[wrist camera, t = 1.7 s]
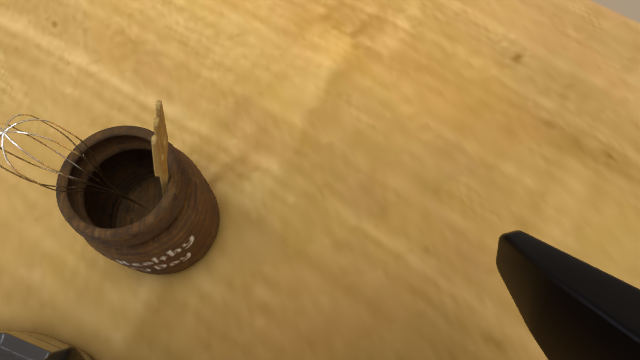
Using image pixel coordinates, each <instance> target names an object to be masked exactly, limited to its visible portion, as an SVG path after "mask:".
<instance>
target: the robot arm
mask: <svg viewBox="0 0 640 360" xmlns="http://www.w3.org/2000/svg"><path fill="white" fill-rule="evenodd" d="M496 265H497V268H498V271H499V273H500V275H501V277H502V279H503V281H504V283H505V285H506V287H507V289H508V290H509V292H510V294H511V296H512V298H513V300H514V302H515V304H516V306H517V308H518V310H519V312H520V314H521V315H522V317H523V319H524V321H525V323H526V325H527V327H528V329H529V330H530V332H531V334H532V335H533V337H534V339H535V340H536V342H537V343H538V345H539V346H540V348H541V349H542V351H543V352H544V354H545V355H546V357H547V358H548V360H640V289H638V288H636V287H634V286H632V285H630V284H628V283H626V282H624V281H622V280H620V279H618V278H616V277H614V276H612V275H610V274H608V273H606V272H604V271H602V270H600V269H597V268H595V267H593V266H591V265H589V264H587V263H585V262H583V261H581V260H579V259H577V258H575V257H573V256H571V255H569V254H567V253H565V252H563V251H561V250H559V249H557V248H555V247H553V246H551V245H549V244H547V243H545V242H543V241H541V240H539V239H537V238H535V237H533V236H531V235H529V234H527V233H525V232H522V231H519V230H517V231H512V232H508V233H504V234H502V235H501V236H500V237H499V243H498V250H497V257H496ZM45 360H85V358H84V357H83V356H82V355H81V353H80V352H79V351H78V349H77V348H75V347H67V348H63V349H59V350H55V351H53V352H51V353H50V354H49V355H48V356H47V357H46V358H45Z"/></svg>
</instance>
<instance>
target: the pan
mask: <svg viewBox="0 0 640 360" xmlns="http://www.w3.org/2000/svg"><path fill="white" fill-rule="evenodd" d="M67 347H72V346H69V345H67V344H65V343H62V342H60V341H57V340H55V339H53V338H50V337H48V336H46V335H42V334H34V333H24V332H14V331H4V330H0V360H45V358H46V357H47V356H48V355H49V354H50V353H51V352H53V351H55V350H59V349H63V348H67ZM78 351H79V352H80V353H81V355H82V356H83V357H84V358H85V360H92V359H91V358H90V357H89V356H88V355H86V354H85V353H84V352H83V351H81V350H79V349H78Z"/></svg>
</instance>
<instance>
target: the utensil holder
mask: <svg viewBox="0 0 640 360" xmlns="http://www.w3.org/2000/svg"><path fill="white" fill-rule="evenodd" d="M20 115H28V116H32V117H34V118H36V119H28V120H24V121H20V122H18V123H16V124H14V125H12V126H11V125H9V124H8V123H9V122H10V121H11V120H12V119H13V118H14V117H16V116H20ZM31 120H40V121H42V122H44V121H47V122H50V123H52V124H54V125H56V126H58V127H60V128H62V127H61V126H59V125H57V124H55V123H53V122H51V121H48V120H43V119H39V118H37V117H35V116H33V115H30V114H18V115H15V116H13V117H12V118H11V119H10V120H9V121H8V122H7V123H0V124H5V128H4V130H3V129H2V128H1V125H0V129H1V130H2V132H0V133H2V134H1V135H0V137H1V136H2V148H1V147H0V149H2V150H3V153H4V156H5V158H6V160H7V162H8V163H9V165H10V166H11V167H12V168H13V170H14V171H16V172H17V173H18V174H19V175H21V176H23V177H21V176H19V175H17V174H15V173H13V172H11V171H9V170H7V169H6V168H4V167H2V166H1V165H0V167H1V168H3V169H5V170H6V171H8V172H10V173H12V174H14V175H16V176H18V177H21V178H23V179H25V180H27V181H30V182H33V183H36V184H39V185H41V186H43V187H45V188H48V189H51V190H54V191H56V198H57V203H58V206H59V209H60V211H61V213H62V215H63V217H64V218H65V220H66V221H67V222H68V223H69V224H70V226H71V227H72V228H73V229H74V230H75V231H76V232H77V233H79V234H80V235H81V236H83V237H84V239H85V240H86V241H87V242H88V243H89V244H90V245H91V246H92V247H93V248H94V249H95V250H96V251H98V252H99V253H101V254H102V255H104V256H106V257H107V258H109V259H111V260H113V261H115V262H118V263H120V264H122V265H124V266H127V267H129V268H132V269H134V270H137V271H140V272H144V273H149V274H169V273H174V272H178V271H181V270H183V269H185V268H187V267H189V266H191V265H192V264H194V263H195V262H197V261H198V260H199V259H200V258H201V257H202V256H203V255H204V254H205V253H206V252H207V251H208V249H209V248H210V246H211V245H212V243H213V241H214V239H215V237H216V234H217V230H218V226H219V209H218V204H217V201H216V198H215V196H214V193H213V191H212V190H211V188H210V186H209V184H208V183H207V181H206V180H205V178H204V177H203V175H202V174H201V172H200V171H199V169H198V168H197V167H196V165H195V164H194V163H193V162H192V161H191V160H190V159H189V158H188V157H187V156H186V155H185V154H184V153H183V152H181V151H180V150H178V149H176V148H175V147H174V146H173V145H172V144H170V143H169V142H168V136H167V130H166V124H165V118H164V112H163V107H162V101H161V100H157V101H156V117H155V118H154V132H153V131H151V130H148V129H145V128H142V127H137V126H116V127H111V128H107V129H104V130H101V131H99V132H97V133H95V134H93V135H91V136H89V137H87V138H86V139H85V140H83V141H82V140H81V139H80V138H78V137H77V136H76V135H74V134H73V133H71V132H69V131H68V130H66V129H64V128H62V129H63V130H65V131H67V132H69V133H70V134H72V135H73V136H75V137H76V138H78V139H79V140H80V141H81V143H79V144H78V145H77V146H76V145H75V144H74V142H73V141H72V140H71V139H69V138H68V137H67V136H66V135H65V134H64V133H62V132H61V131H59V130H58V129H56V128H55V127H53V126H51V125H50V124H48V123H46V122H44V123H45V124H47V125H49V126H51V127H52V128H54V129H56V130H57V131H59V132H60V133H61V134H63V135H64V136H65V137H67V138H68V139H69V140H70V141H71V142H72V143H73V144H74V145H75V146H76V147H75V148H74V149H73V150H71V149H69V148H68V147H66V146H64V145H62V144H60V143H58V142H56V141H54V140H52V139H49V138H47V137H44V136H40V135H37V134H32V133H27V132H23V131H21V130H19V129H17V128H15V127H13V126H15V125H17V124H19V123H22V122H25V121H31ZM7 125H8V126H10V127H9V128H7V129H6V127H7ZM11 127H13V128H14V129H16V130H18V131H7V130H9V129H10V128H11ZM19 131H20V132H19ZM6 133H24V134H26V135H27V136H29V137H31V138H33V139H35V138H34V137H32V136H30V135H28V134H31V135H35V136H39V137H42V138H45V139H48V140H51V141H53V142H55V143H57V144H59V145H61V146H63V147H65V148H67V149H69V150H70V151H71V153H70V154H69V155H68V157H67V158H66V157H64V156H63V155H61V154H60V153H58V152H57V151H55V150H54V149H52V148H50V147H49V146H47V145H46V144H44V143H42V142H41V141H39V140H37V139H35V140H36V141H38V142H40V143H42V144H43V145H45V146H47V147H48V148H50V149H51V150H53V151H55V152H56V153H58V154H59V155H61V156H62V157H64V158H65V159H66V160H65V161H64V163H63V165H62V167H61V169H60V172H59V171H57V170H55V169H53V168H51V167H49V166H48V165H46V164H44V163H42V162H40V161H39V160H37V159H36V158H34V157H33V156H31V155H30V154H28V153H27V152H26V151H24V150H23V149H22V148H21V147H19V146H18V145H17V144H16V143H15V142H14V141H13V140H12V139H11V138H10V137H9V136H8V135H7V134H6ZM4 134H5V135H6V136H7V137H8V139H9V140H10V141H11V142H13V143H14V144H15V145H16V146H17V147H18V148H20V149H21V150H22V151H23V152H25V153H26V154H27V155H29V156H30V157H32V158H33V159H35V160H36V161H38V162H39V163H41V164H43V165H45V166H47V167H48V168H50V169H52V170H54V171H52V170H49V169H46V168H43V167H40V166H38V165H35V164H33V163H30V162H28V161H26V160H24V159H22V158H20V157H18V156H16V155H14V154H12V153H10V152H8V151H6V150H4V143H3V141H4ZM5 152H7V153H9V154H11V155H13V156H15V157H17V158H19V159H21V160H23V161H25V162H28V163H30V164H32V165H35V166H37V167H40V168H42V169H45V170H48V171H51V172H54V173H57V174H59V175H58V178H57V184H56V186H52V185H45V184H40V183H37V182H35V181H33V180H31V179H29V178H27V177H25V176H24V175H22V174H20V173H19V172H18V171H17V170H16V169H15V168H14V167H13V166H12V165H11V164H10V162H9V160H8V159H7V156H6V154H5ZM55 171H56V172H55ZM46 186H51V187H56V190H55V189H52V188H49V187H46Z"/></svg>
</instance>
